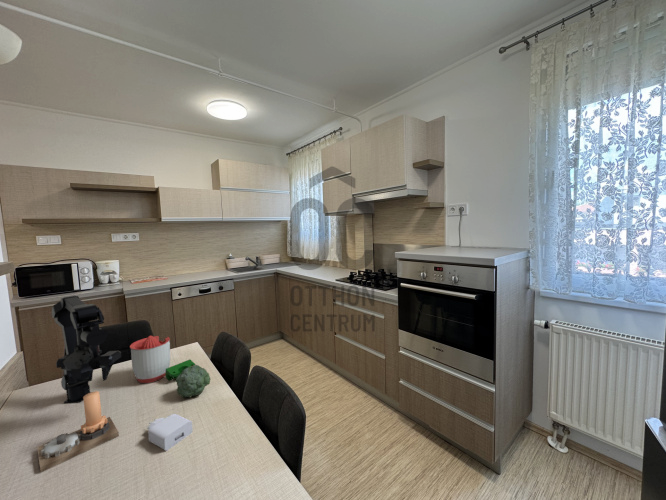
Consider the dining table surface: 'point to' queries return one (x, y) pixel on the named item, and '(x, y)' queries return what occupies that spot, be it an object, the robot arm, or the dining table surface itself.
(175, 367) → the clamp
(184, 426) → the charger
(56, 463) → the gear board
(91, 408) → the gear spindle
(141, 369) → the citrus juicer
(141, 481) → the dining table surface
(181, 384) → the vegetable
